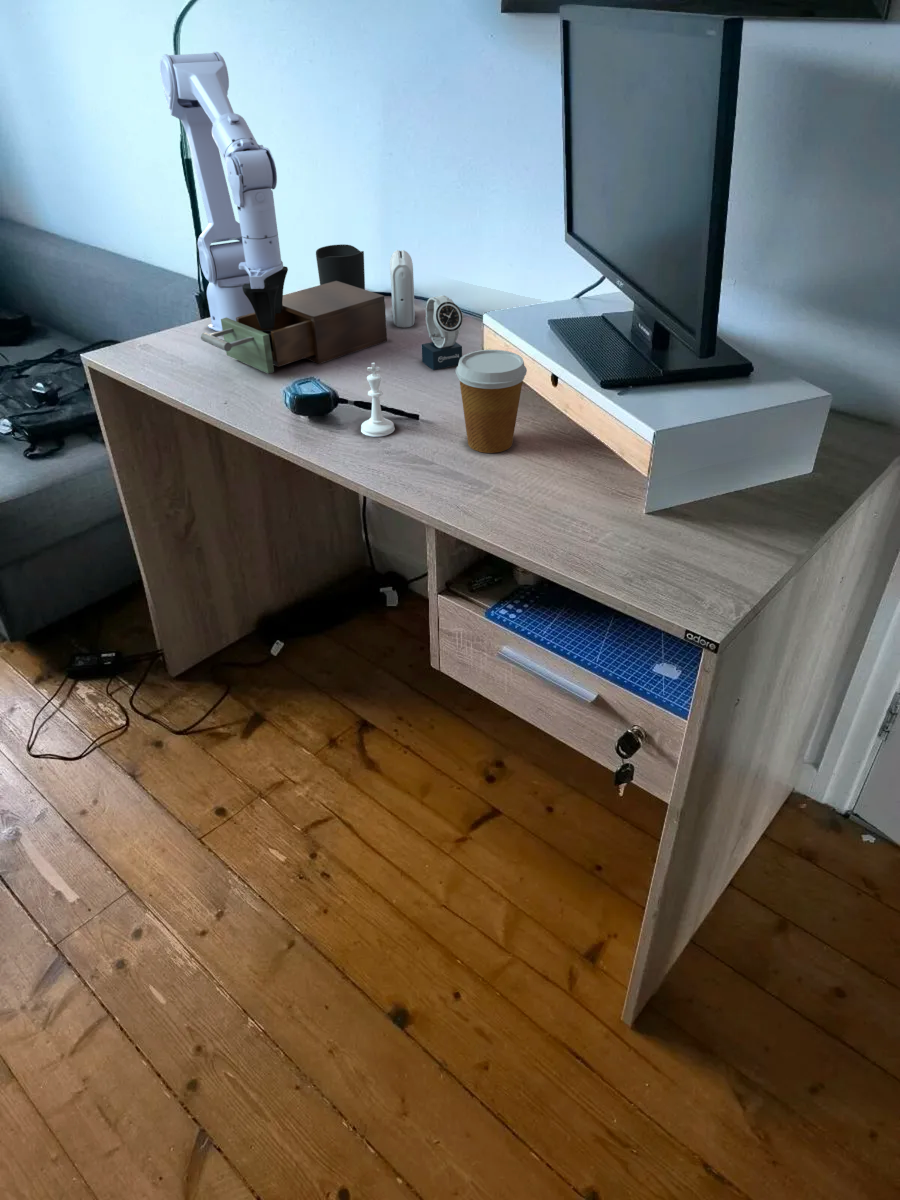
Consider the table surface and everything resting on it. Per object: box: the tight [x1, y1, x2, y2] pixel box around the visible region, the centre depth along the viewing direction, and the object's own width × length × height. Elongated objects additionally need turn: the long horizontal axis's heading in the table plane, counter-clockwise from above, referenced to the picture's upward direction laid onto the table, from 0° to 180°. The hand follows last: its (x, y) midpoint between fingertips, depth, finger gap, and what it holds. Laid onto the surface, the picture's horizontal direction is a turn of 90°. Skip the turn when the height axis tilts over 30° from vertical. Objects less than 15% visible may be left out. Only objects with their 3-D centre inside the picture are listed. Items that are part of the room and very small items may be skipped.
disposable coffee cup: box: [455, 349, 528, 454], centre depth 117 cm, size 10×10×12 cm
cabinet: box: [282, 281, 388, 364], centre depth 152 cm, size 16×14×8 cm
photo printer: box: [389, 249, 416, 328], centre depth 161 cm, size 10×4×12 cm, turn 4°
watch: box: [421, 295, 465, 371], centre depth 142 cm, size 6×8×11 cm
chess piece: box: [360, 362, 396, 438], centre depth 122 cm, size 5×5×10 cm
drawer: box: [200, 310, 315, 375], centre depth 145 cm, size 20×12×6 cm, turn 135°
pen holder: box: [315, 243, 366, 290], centre depth 171 cm, size 9×9×10 cm
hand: (271, 320), depth 144 cm, fingers open, 7 cm apart
